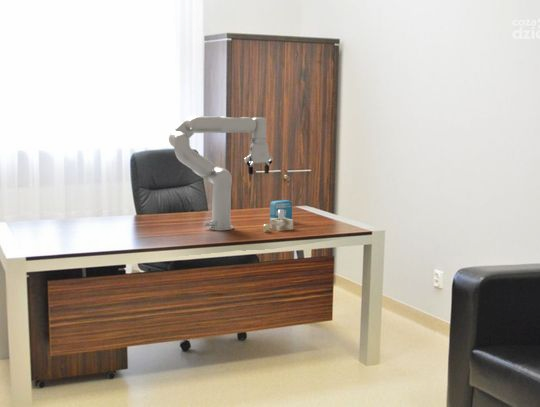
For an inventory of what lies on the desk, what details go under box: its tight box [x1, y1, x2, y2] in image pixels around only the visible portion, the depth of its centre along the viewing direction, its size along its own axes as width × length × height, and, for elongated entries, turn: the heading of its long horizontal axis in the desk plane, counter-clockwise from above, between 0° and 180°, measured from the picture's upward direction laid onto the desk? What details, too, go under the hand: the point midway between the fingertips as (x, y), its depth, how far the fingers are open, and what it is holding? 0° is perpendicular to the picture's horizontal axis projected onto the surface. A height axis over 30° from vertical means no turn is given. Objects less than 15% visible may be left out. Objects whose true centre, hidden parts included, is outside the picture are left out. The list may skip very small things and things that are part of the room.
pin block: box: [269, 217, 294, 232], centre depth 378 cm, size 9×9×5 cm
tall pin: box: [278, 209, 284, 220], centre depth 378 cm, size 3×3×10 cm
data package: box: [269, 199, 293, 220], centre depth 395 cm, size 12×4×12 cm, turn 126°
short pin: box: [262, 223, 271, 234], centre depth 369 cm, size 3×3×4 cm
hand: (258, 173), depth 379 cm, fingers open, 9 cm apart
